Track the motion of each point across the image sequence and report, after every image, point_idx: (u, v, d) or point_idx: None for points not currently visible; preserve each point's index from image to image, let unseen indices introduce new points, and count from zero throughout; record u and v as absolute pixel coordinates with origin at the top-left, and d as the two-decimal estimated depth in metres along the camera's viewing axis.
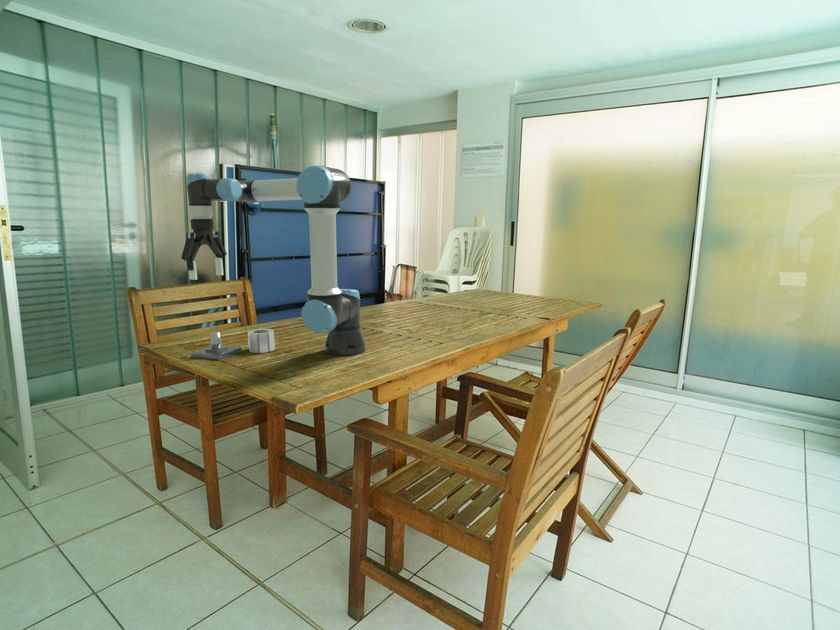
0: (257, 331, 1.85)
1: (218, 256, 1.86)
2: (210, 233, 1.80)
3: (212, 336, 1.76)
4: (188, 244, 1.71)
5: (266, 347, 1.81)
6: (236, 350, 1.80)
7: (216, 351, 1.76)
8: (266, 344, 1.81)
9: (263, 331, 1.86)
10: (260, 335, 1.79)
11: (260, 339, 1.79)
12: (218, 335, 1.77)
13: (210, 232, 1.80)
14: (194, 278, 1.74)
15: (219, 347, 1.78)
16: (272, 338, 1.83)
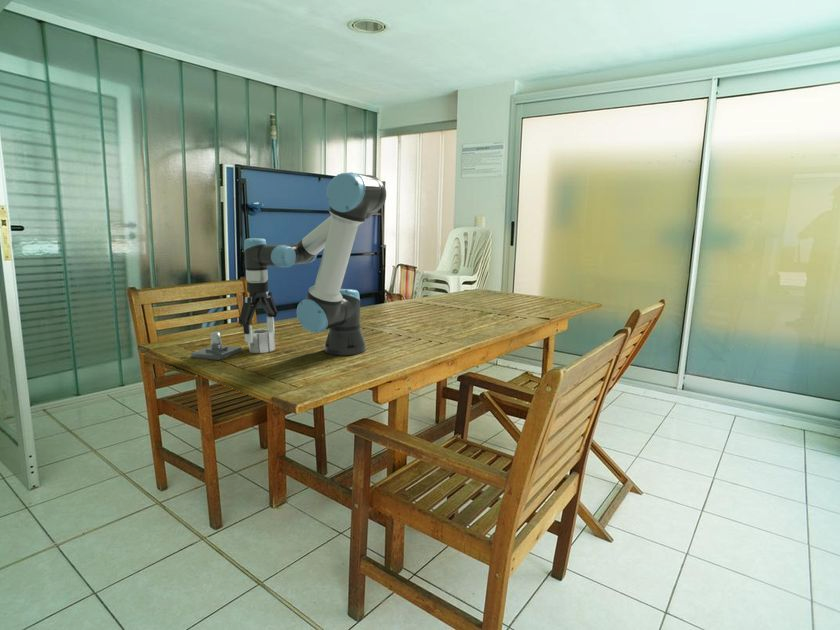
0: (257, 331, 1.85)
1: (270, 315, 1.89)
2: (264, 295, 1.83)
3: (212, 336, 1.76)
4: (245, 309, 1.74)
5: (266, 347, 1.81)
6: (236, 350, 1.80)
7: (216, 351, 1.76)
8: (266, 344, 1.81)
9: (263, 331, 1.86)
10: (260, 335, 1.79)
11: (260, 339, 1.79)
12: (218, 335, 1.77)
13: (264, 294, 1.83)
14: (250, 341, 1.77)
15: (219, 347, 1.78)
16: (272, 338, 1.83)
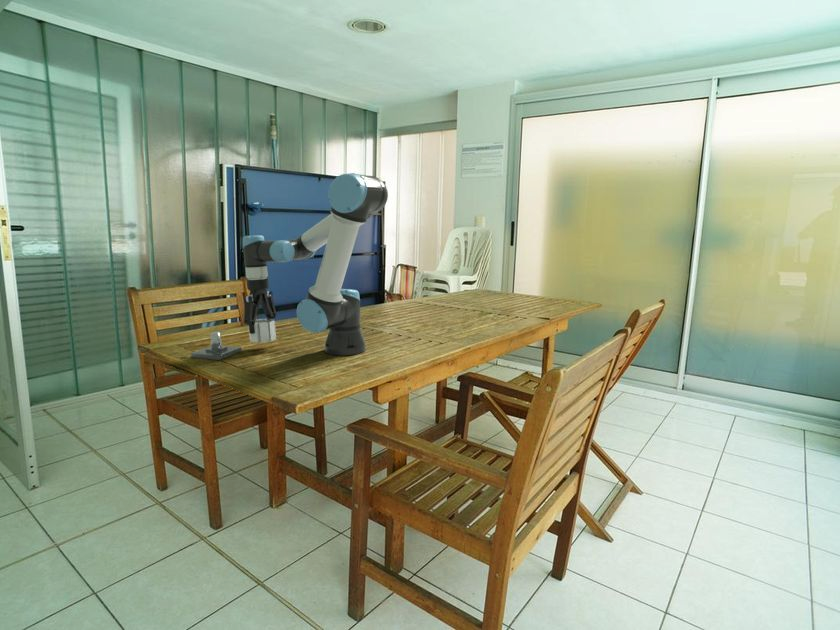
0: (258, 321, 1.84)
1: (269, 317, 1.87)
2: (265, 292, 1.82)
3: (212, 336, 1.76)
4: (248, 308, 1.74)
5: (267, 336, 1.80)
6: (236, 350, 1.80)
7: (216, 351, 1.76)
8: (267, 333, 1.79)
9: (264, 321, 1.85)
10: (261, 324, 1.78)
11: (261, 328, 1.78)
12: (218, 335, 1.77)
13: (265, 291, 1.82)
14: (256, 341, 1.78)
15: (219, 347, 1.78)
16: (273, 327, 1.82)
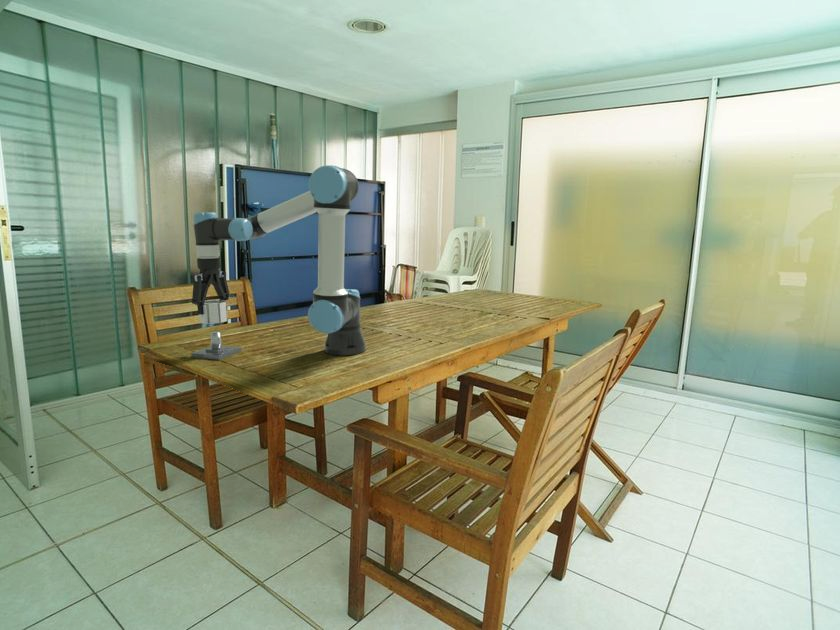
0: (209, 302, 1.77)
1: (221, 298, 1.80)
2: (217, 271, 1.75)
3: (212, 336, 1.76)
4: (196, 288, 1.67)
5: (217, 318, 1.73)
6: (236, 350, 1.80)
7: (216, 351, 1.76)
8: (217, 315, 1.73)
9: (215, 302, 1.78)
10: (210, 305, 1.71)
11: (210, 309, 1.71)
12: (218, 335, 1.77)
13: (217, 271, 1.75)
14: (204, 322, 1.71)
15: (219, 347, 1.78)
16: (223, 309, 1.75)
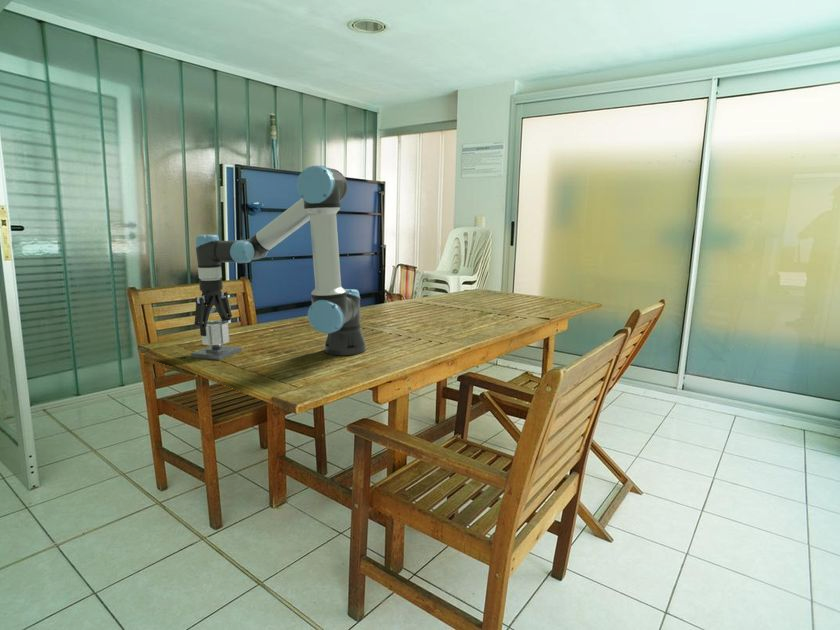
0: (211, 322, 1.79)
1: (223, 319, 1.82)
2: (219, 293, 1.77)
3: None
4: (199, 310, 1.69)
5: (219, 339, 1.74)
6: (236, 350, 1.80)
7: (216, 351, 1.76)
8: (219, 336, 1.74)
9: (217, 323, 1.80)
10: (212, 326, 1.73)
11: (212, 331, 1.73)
12: None
13: (219, 292, 1.77)
14: (207, 343, 1.73)
15: (219, 347, 1.78)
16: (226, 330, 1.76)
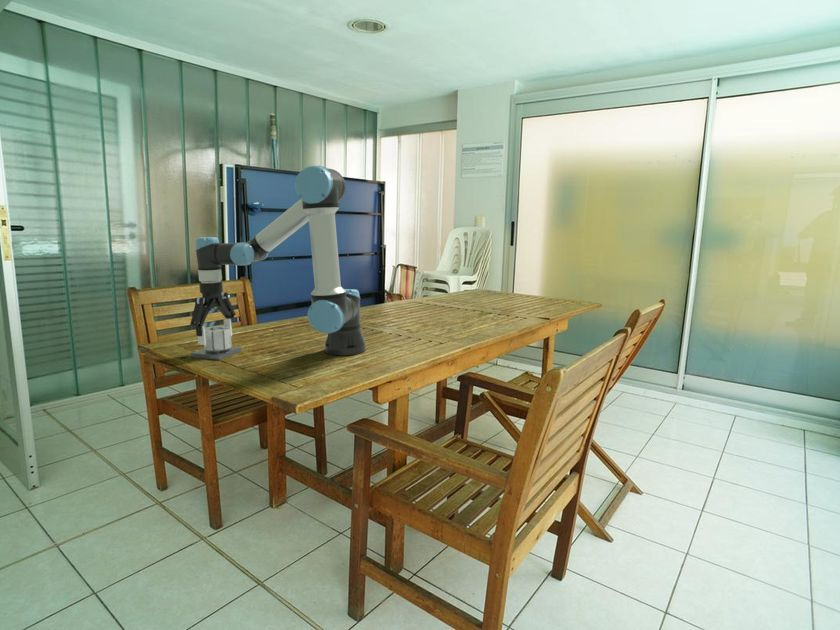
0: (213, 328, 1.80)
1: (227, 317, 1.83)
2: (219, 295, 1.77)
3: None
4: (197, 310, 1.68)
5: (221, 345, 1.75)
6: (236, 350, 1.80)
7: (216, 351, 1.76)
8: (221, 342, 1.75)
9: (219, 328, 1.81)
10: (214, 332, 1.74)
11: (215, 336, 1.74)
12: None
13: (219, 294, 1.77)
14: (203, 343, 1.71)
15: None
16: (228, 335, 1.77)
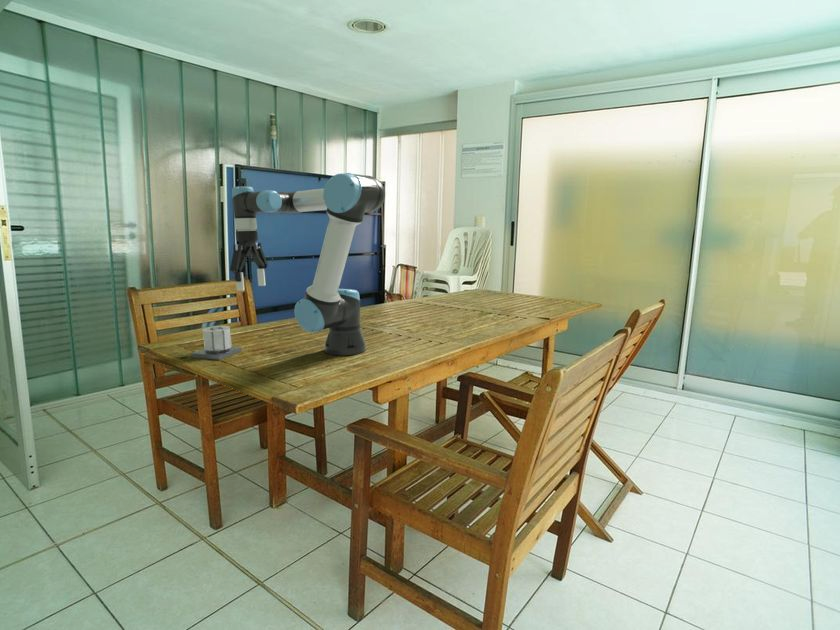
0: (213, 328, 1.80)
1: (260, 267, 1.90)
2: (254, 245, 1.83)
3: None
4: (236, 256, 1.74)
5: (221, 345, 1.75)
6: (236, 350, 1.80)
7: (216, 351, 1.76)
8: (221, 342, 1.75)
9: (219, 328, 1.81)
10: (214, 332, 1.74)
11: (215, 336, 1.74)
12: None
13: (254, 244, 1.83)
14: (242, 289, 1.77)
15: None
16: (228, 335, 1.77)
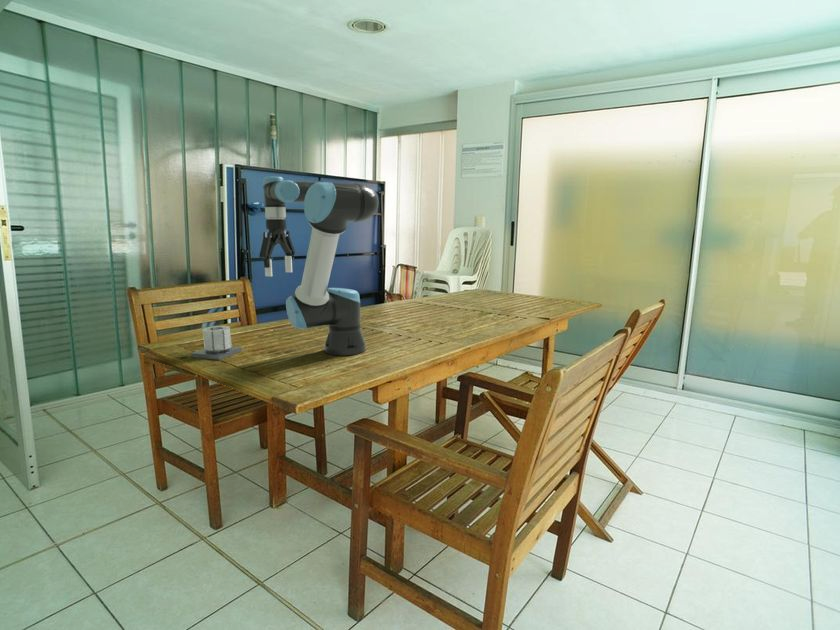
0: (213, 328, 1.80)
1: (288, 254, 1.98)
2: (282, 233, 1.91)
3: None
4: (265, 243, 1.82)
5: (221, 345, 1.75)
6: (236, 350, 1.80)
7: (216, 351, 1.76)
8: (221, 342, 1.75)
9: (219, 328, 1.81)
10: (214, 332, 1.74)
11: (215, 336, 1.74)
12: None
13: (282, 232, 1.91)
14: (270, 275, 1.85)
15: None
16: (228, 335, 1.77)
